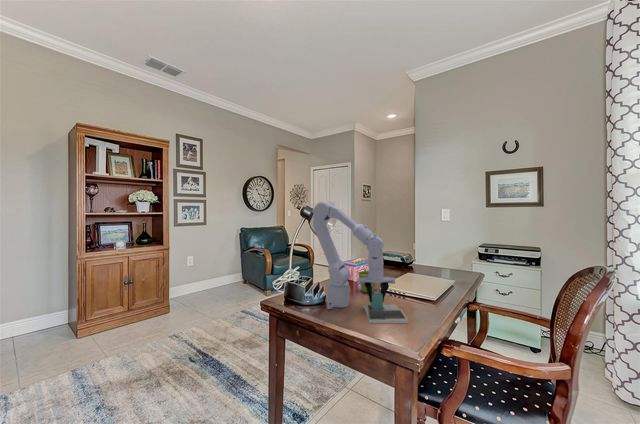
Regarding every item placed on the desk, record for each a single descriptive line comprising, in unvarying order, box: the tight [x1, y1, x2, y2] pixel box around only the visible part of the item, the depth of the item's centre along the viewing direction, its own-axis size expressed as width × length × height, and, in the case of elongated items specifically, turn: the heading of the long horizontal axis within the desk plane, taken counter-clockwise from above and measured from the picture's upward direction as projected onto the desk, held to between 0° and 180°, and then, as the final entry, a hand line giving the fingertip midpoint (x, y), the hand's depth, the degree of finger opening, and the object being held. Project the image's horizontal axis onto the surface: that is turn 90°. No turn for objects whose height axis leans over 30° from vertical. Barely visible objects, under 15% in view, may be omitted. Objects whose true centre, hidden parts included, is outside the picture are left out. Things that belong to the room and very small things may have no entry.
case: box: [365, 309, 409, 324], centre depth 95 cm, size 13×8×2 cm, turn 88°
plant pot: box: [357, 270, 376, 293], centre depth 126 cm, size 9×9×9 cm
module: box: [370, 290, 384, 310], centre depth 103 cm, size 4×4×6 cm
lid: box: [363, 303, 400, 313], centre depth 103 cm, size 13×8×1 cm, turn 88°
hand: (376, 301), depth 103 cm, fingers closed on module, 4 cm apart
